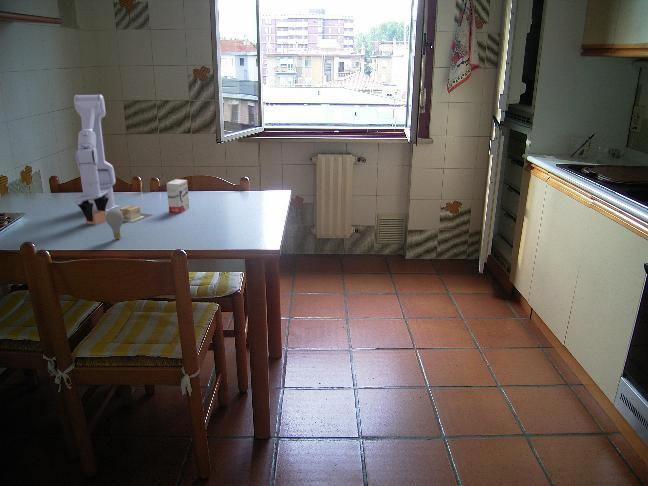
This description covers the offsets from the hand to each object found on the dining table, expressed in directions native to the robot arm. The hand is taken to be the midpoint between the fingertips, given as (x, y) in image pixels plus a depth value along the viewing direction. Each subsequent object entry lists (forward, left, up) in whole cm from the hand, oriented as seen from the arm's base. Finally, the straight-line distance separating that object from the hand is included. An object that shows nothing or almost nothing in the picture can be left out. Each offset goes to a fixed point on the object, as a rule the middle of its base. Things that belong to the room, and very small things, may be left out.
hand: (95, 219), depth 196 cm
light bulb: (+21, -12, -2) cm, 24 cm away
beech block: (+8, +9, -1) cm, 12 cm away
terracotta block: (0, 0, -1) cm, 1 cm away
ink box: (+18, +25, -2) cm, 31 cm away
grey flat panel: (+6, +10, -1) cm, 12 cm away
